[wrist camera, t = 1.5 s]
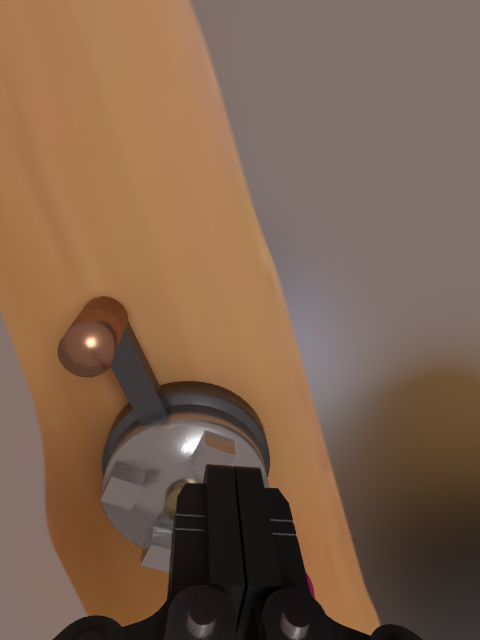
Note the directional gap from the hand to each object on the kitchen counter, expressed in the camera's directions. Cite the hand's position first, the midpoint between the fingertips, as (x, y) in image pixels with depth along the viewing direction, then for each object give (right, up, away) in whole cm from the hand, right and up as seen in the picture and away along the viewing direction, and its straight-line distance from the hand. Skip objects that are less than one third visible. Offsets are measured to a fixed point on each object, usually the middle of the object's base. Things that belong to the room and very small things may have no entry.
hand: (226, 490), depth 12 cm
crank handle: (-5, -2, +18) cm, 19 cm away
